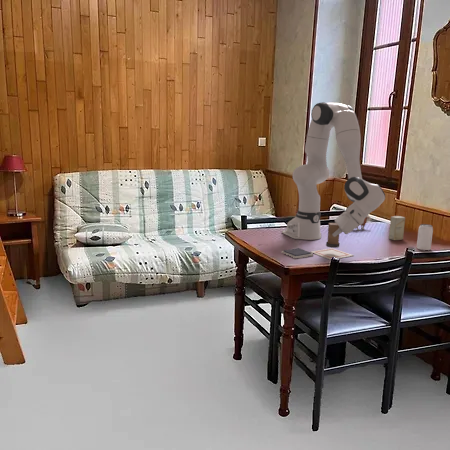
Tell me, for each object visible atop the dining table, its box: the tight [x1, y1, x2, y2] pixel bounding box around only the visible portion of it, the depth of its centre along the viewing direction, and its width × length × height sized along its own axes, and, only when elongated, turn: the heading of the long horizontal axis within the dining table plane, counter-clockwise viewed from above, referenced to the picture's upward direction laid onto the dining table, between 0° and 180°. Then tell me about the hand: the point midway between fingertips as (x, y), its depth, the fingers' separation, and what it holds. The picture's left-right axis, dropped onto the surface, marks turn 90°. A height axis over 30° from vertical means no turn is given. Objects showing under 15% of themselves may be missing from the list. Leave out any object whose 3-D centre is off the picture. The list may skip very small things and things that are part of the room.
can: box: [416, 223, 434, 251], centre depth 232 cm, size 6×6×12 cm
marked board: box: [310, 247, 354, 261], centre depth 220 cm, size 14×14×1 cm
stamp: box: [325, 222, 340, 249], centre depth 218 cm, size 6×6×10 cm
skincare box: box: [388, 215, 406, 241], centre depth 250 cm, size 6×4×12 cm
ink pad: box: [281, 247, 314, 259], centre depth 218 cm, size 10×10×2 cm
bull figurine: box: [354, 214, 372, 231], centre depth 271 cm, size 4×13×8 cm, turn 116°
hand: (332, 234), depth 218 cm, fingers closed on stamp, 4 cm apart
